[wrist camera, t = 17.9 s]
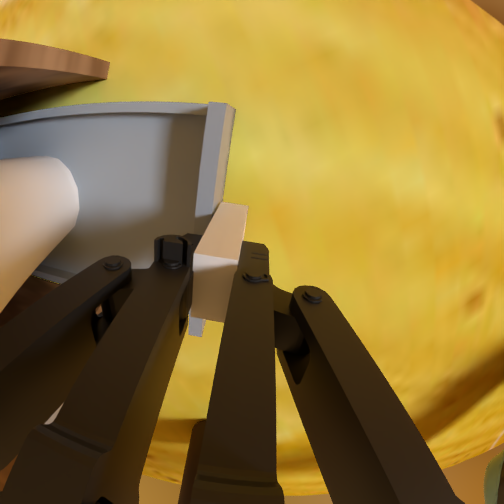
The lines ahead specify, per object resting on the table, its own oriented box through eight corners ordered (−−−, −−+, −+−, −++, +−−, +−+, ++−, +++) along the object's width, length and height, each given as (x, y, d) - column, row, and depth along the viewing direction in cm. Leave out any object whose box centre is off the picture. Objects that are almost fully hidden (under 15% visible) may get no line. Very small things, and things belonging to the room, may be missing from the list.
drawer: (235, 109, 15) (226, 103, 11) (211, 300, 20) (201, 337, 16) (5, 117, 14) (-28, 123, 10) (15, 255, 20) (-11, 275, 16)
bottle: (206, 412, 27) (179, 577, 9) (259, 429, 28) (252, 582, 10) (185, 431, 29) (158, 567, 11) (232, 446, 31) (220, 576, 12)
